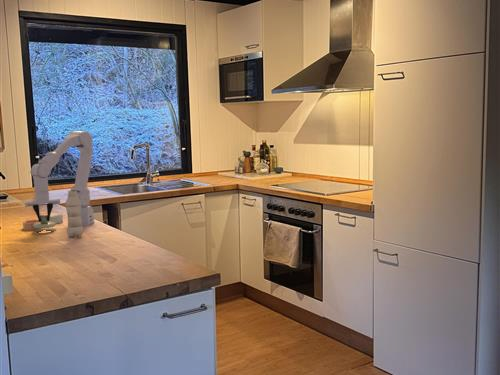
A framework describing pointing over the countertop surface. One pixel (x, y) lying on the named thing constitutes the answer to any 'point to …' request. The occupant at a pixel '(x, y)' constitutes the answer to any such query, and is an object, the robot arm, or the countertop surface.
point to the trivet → (45, 229)
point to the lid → (44, 223)
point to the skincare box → (54, 217)
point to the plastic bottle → (74, 214)
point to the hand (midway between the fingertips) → (44, 221)
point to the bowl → (30, 225)
